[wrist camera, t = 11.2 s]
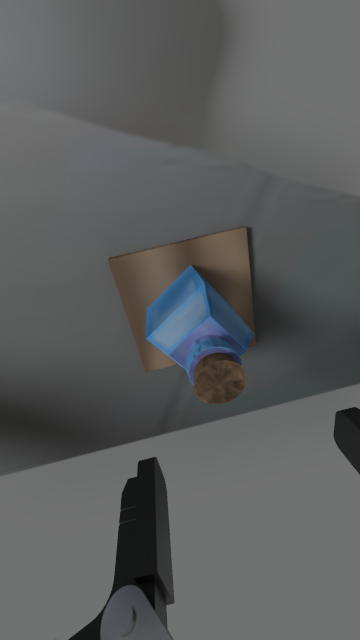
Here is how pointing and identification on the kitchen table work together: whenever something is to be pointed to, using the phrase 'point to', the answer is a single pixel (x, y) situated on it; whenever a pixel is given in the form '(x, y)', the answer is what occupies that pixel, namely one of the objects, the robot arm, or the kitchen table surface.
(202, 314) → the perfume bottle
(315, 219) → the kitchen table surface
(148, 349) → the walnut board
